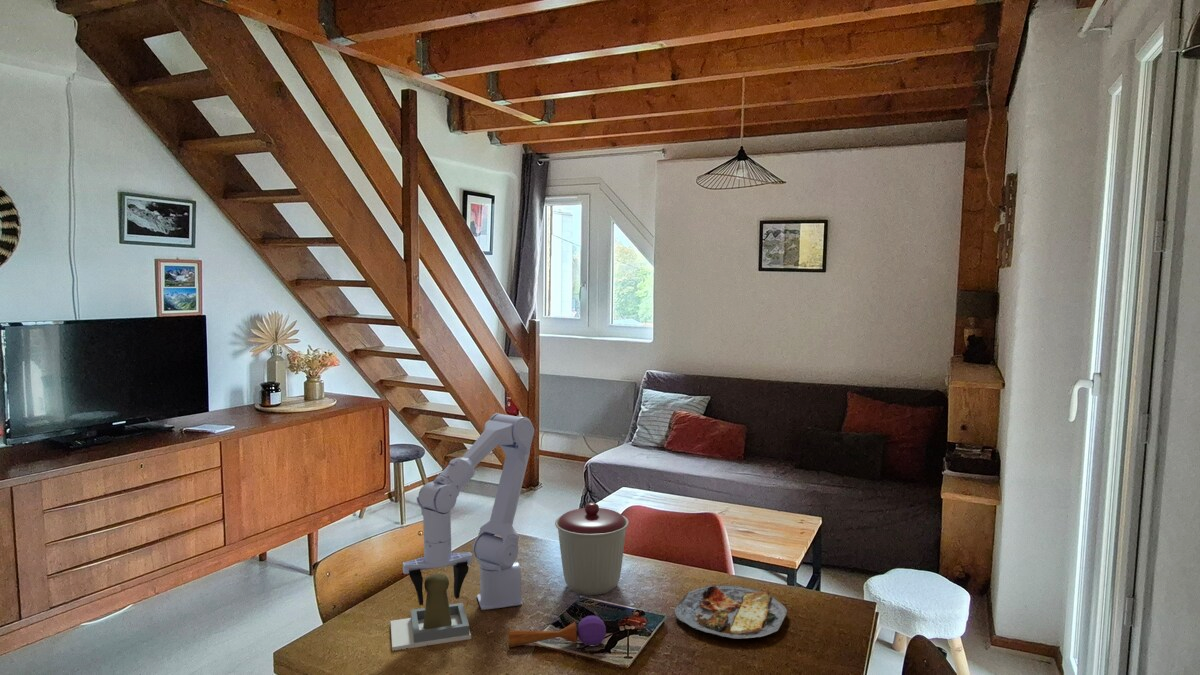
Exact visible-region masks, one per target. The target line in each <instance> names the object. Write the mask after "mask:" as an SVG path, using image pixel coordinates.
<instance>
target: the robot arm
mask: <svg viewBox="0 0 1200 675" xmlns="http://www.w3.org/2000/svg"><path fill="white" fill-rule="evenodd" d="M534 435H535V428H534V426H533V423H532V421H531V419H530V418H528V417H527V416H515V415H510V414H503V413H501V412H496V413H494V414H493V415H491V417H490V418H489V420H487V421H486V422H485V423H484V430H483V431H482V433H481V434H480V435H479V437H477V439H476V440H475V441H474V443H473V444H472V445H471V447H469V449H468V450H467V451H466V452H465V454H464V455H463V456H462V457H455V458H453V459H450V461H449V462H448V465H447V466H446V467H445V468H444V469H443V470H442V472H440V474H439V475H437V476H436V477H435V478H434V480H433V481H429V482H426V483H425V484H424V485H422V487H421V488H420V490H419V492H418V496H416V502H417V505H418V507H420V509H421V516H422V519H423V521H422V522H423V554H424V555H423V556H422V557H418V558H416V559H411V560H408V561H403V562H402V571H403V572H402V573H403V574H404V575H408V576H409V577H410V579H411V582H412V584H413V586H414V588H415V591H416V595H417V602H418V605H419V606H424V595H423V580H424V577H423V575H422V571H427V570H432V569H433V570H434V569H438V568H444V567H451V566H452V567H453V595H454V596H453V597H454V598H455V599H456V600H458V599H460V594H461V590H462V586H463V583H464V580H465V579H466V576H467V574H468V573H469V565H472V564H473V556H474V558H475V559H477V564H478V565H479V572H480V573H479V575H480V576H479V580H480V585H479V587H480V590H479V591H480V593H478V594H477V595H476V597H477V598H476V599H477V600H478V603H479V604H478V605H479V606H480V609H481V610H482V611H487V610H493V609H500V608H502V609H503V608H507V607H514V606H515V607H516V606H521V605H522V604H523V601H522V597H523V596H522V571H521V565H520V563H519V562H518V561H516V560H517V558H518V555H519V538H520V536H519V534H518V532H517V531H516V530H515V528H514V526H513V525H514V521H515V517H516V511H517V508H518V504H519V499H520V496H521V492H522V487H523V482H524V479H525V475H526V470H527V466H528V462H529V458H530V452H531V447H532V442H533V439H534ZM497 447H500V448H501V449H502V451H503V453H504V455H505V458H504V463H503V466H502V471H501V476H500V479H499V482H498V487H497V490H496V491H497V492H496V495H495V499H494V503H493V507H492V511H491V515H490V519H489V521H488V522H486V523H484V524H483V525H482V526H481V527H480V528H479V531H478V534H477V537H475V540H474V541H473V543H472V552H470V551H467V552H452V521H451V520H452V519H451V518H452V517H451V514H452V512H451V511H452V509H454V508H455V505H456V504H457V503H456V502H457V500H458V497H459V495H460V492H461V491H462V490H463V488H465V486H466V485H467V484H468V483H469V482H470V481H471V479H472V478H473V477H474V476H475V467H476V466H477V465H478V464H480V462H482V461H483V460H484V459H486V457H487V456H488V455H489V454H490V453H492V451H493V450H494V449H495V448H497Z"/></svg>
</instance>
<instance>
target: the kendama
mask: <svg viewBox="0 0 1200 675" xmlns="http://www.w3.org/2000/svg"><path fill="white" fill-rule="evenodd" d="M606 634H607V627H606V625H605V622H604V621H603V619H601V617H599V616H597V615H587V616H585V617H583V618H581V620H580V621H579V622H578V625H577V624H576V621H574V622H572V623H570V624H568V625H567V626H566V627H564V628H562V629H560V630H557V631H556V630H554V631H553V630H518V629H517V630H511V629H509V631H508V645H509V648H514V647H520V646H524V645H527V644H533V643H537V642H542V641H546V640H551V639H552V640H553V639H557V638H561V639H564V640H567V641H569V642H572V643H574V642H575V644H577V643H578V640H579V642H581V643H582V644H583V643H584V644H586V645H597V644H598V645H600V644H602V642H603V641H604V639H605V637H606ZM599 643H600V644H599ZM584 644H583V645H584ZM586 645H585V646H586ZM598 645H597V646H598Z"/></svg>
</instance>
